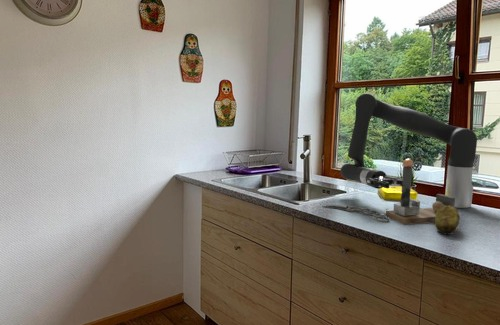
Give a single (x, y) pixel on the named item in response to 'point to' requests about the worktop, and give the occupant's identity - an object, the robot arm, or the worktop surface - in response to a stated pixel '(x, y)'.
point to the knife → (363, 211)
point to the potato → (447, 219)
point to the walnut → (437, 205)
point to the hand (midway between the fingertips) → (398, 185)
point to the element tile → (394, 193)
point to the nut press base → (422, 212)
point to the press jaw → (407, 193)
